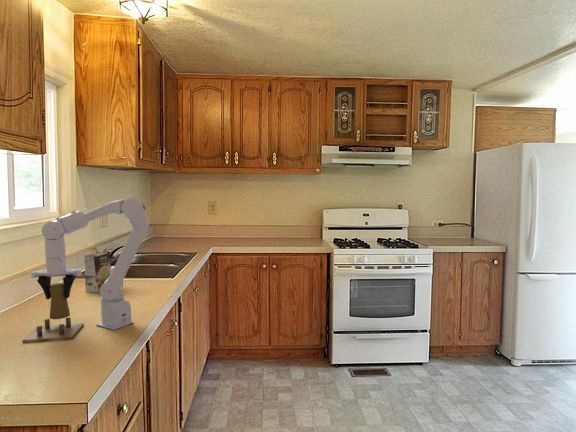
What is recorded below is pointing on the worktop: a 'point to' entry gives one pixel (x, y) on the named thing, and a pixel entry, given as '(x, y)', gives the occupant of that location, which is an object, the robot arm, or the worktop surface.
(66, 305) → the cork
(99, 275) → the coffee box
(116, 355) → the worktop surface
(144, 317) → the worktop surface
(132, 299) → the worktop surface
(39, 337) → the pin tray
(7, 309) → the worktop surface
